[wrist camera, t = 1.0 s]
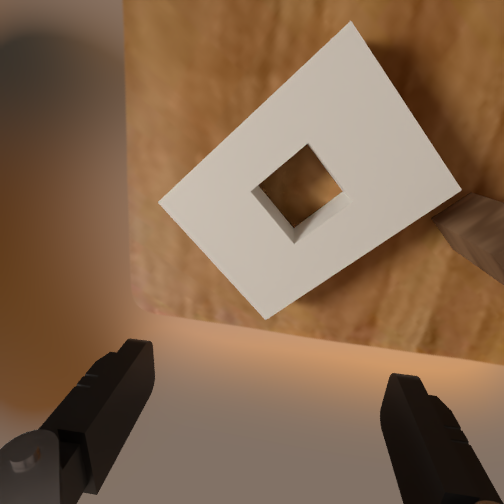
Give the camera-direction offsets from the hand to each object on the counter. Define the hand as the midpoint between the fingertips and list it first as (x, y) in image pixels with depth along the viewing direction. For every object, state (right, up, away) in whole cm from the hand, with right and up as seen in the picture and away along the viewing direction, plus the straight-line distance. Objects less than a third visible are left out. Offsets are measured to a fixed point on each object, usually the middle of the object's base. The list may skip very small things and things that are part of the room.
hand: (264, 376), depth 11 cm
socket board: (+4, +11, +20) cm, 23 cm away
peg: (+20, +7, +20) cm, 29 cm away
